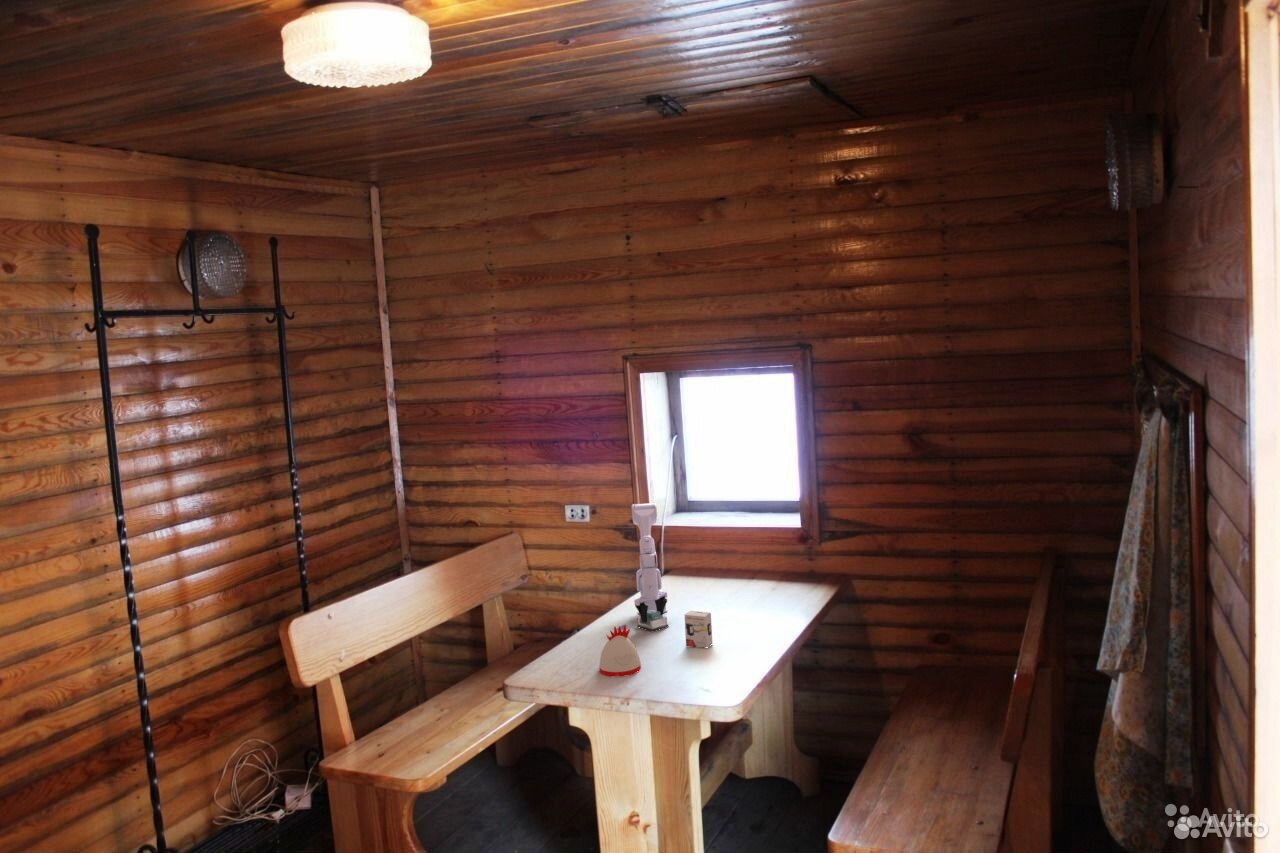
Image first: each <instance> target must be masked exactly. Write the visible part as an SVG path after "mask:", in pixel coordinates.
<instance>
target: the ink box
mask: <svg viewBox="0 0 1280 853" xmlns="http://www.w3.org/2000/svg"><path fill="white" fill-rule="evenodd" d="M684 630H685V631H684V632H685V647H686V646H693V647H692V648H696V647H709V646H710V645H711V644H713V626H712V613H711V612H708V611H700V610H698V611H697V610H696V611H695V610H689V611H688V612H686V613H685V614H684ZM710 647H711V646H710ZM710 647H709V648H710Z"/></svg>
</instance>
